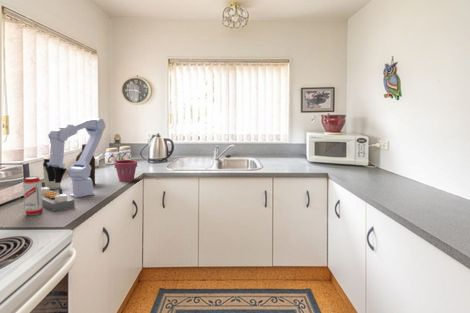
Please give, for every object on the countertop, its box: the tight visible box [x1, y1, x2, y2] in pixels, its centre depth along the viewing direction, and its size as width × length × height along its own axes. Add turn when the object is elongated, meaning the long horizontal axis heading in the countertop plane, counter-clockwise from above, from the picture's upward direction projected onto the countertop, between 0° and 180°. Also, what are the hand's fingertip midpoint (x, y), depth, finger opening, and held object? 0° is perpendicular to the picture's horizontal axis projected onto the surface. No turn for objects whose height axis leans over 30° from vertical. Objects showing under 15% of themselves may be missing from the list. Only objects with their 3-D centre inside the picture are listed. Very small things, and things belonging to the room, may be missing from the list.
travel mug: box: [42, 156, 61, 190], centre depth 176 cm, size 8×8×18 cm
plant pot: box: [113, 159, 138, 183], centre depth 200 cm, size 14×14×13 cm
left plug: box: [41, 181, 51, 194], centre depth 151 cm, size 4×4×6 cm
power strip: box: [42, 190, 76, 213], centre depth 146 cm, size 9×26×4 cm, turn 52°
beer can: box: [23, 175, 44, 216], centre depth 131 cm, size 6×6×16 cm
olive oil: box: [75, 143, 96, 186], centre depth 185 cm, size 11×11×25 cm
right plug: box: [55, 187, 68, 202], centre depth 139 cm, size 4×4×6 cm
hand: (54, 182), depth 146 cm, fingers open, 7 cm apart
